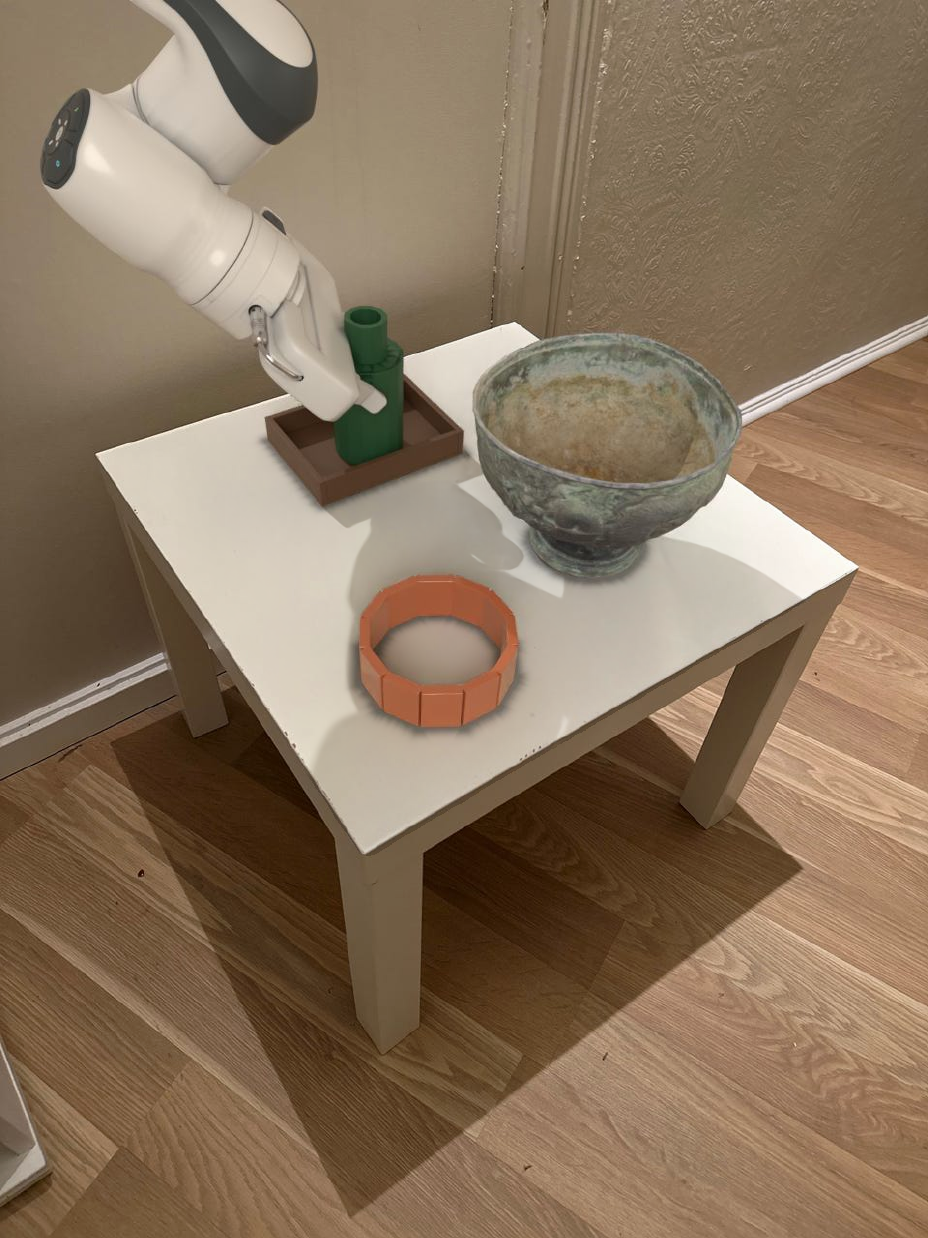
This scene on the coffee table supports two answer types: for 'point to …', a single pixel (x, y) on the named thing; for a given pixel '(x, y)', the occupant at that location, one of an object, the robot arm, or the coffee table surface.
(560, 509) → the bowl
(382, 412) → the bottle
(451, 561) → the coffee table surface
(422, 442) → the tray
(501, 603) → the orange ring
